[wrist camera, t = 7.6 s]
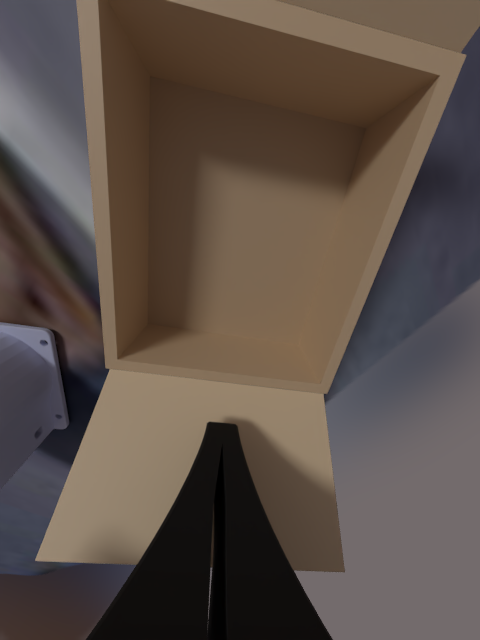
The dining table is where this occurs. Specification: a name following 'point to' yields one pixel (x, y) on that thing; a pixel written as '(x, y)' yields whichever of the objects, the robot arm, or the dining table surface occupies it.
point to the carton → (247, 179)
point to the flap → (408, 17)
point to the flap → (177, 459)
